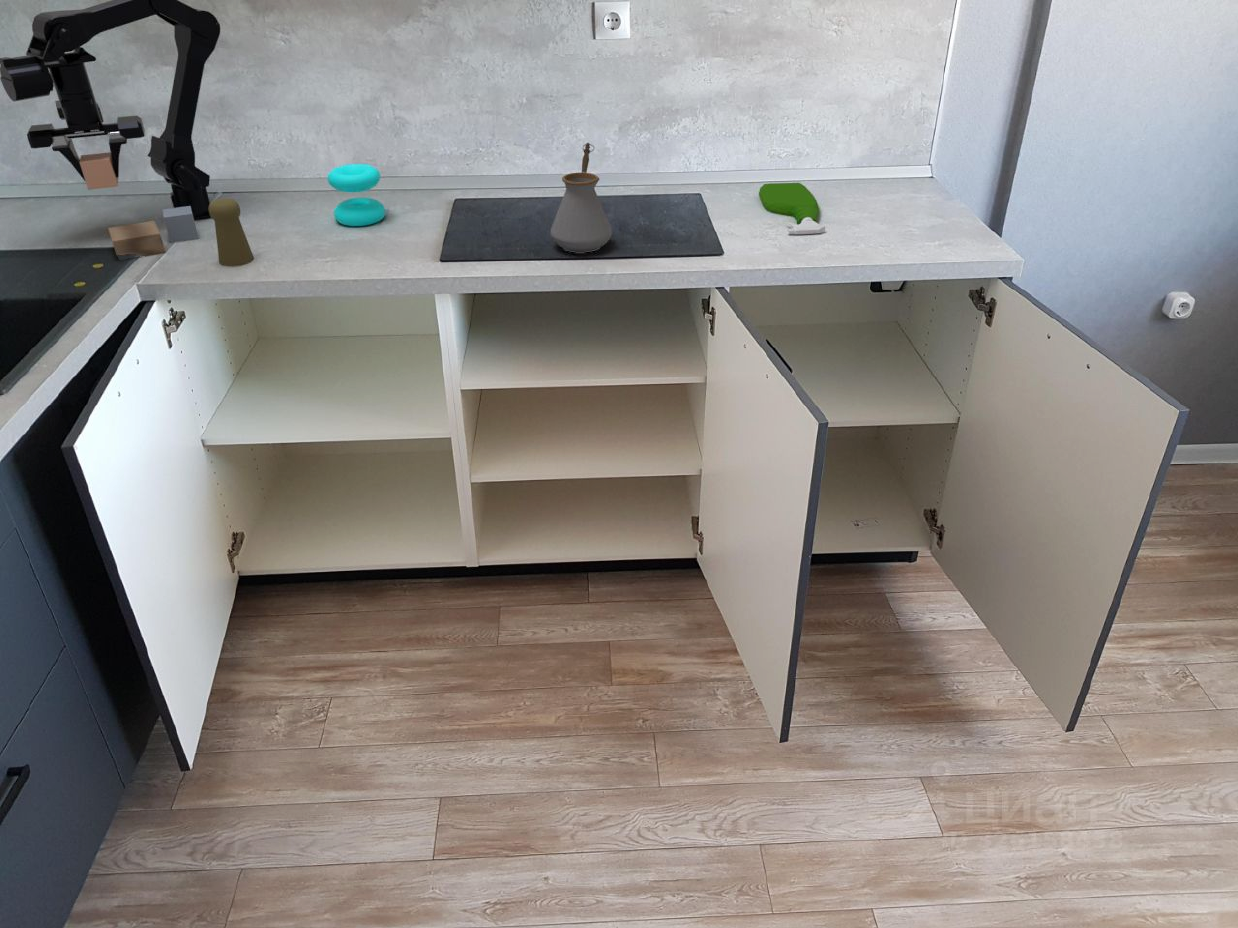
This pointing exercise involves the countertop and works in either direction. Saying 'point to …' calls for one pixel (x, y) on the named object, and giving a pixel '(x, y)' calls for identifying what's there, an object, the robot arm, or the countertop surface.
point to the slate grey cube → (180, 224)
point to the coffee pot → (581, 213)
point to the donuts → (356, 181)
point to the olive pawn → (230, 233)
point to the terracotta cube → (98, 171)
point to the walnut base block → (137, 239)
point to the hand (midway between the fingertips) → (101, 178)
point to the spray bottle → (792, 206)
